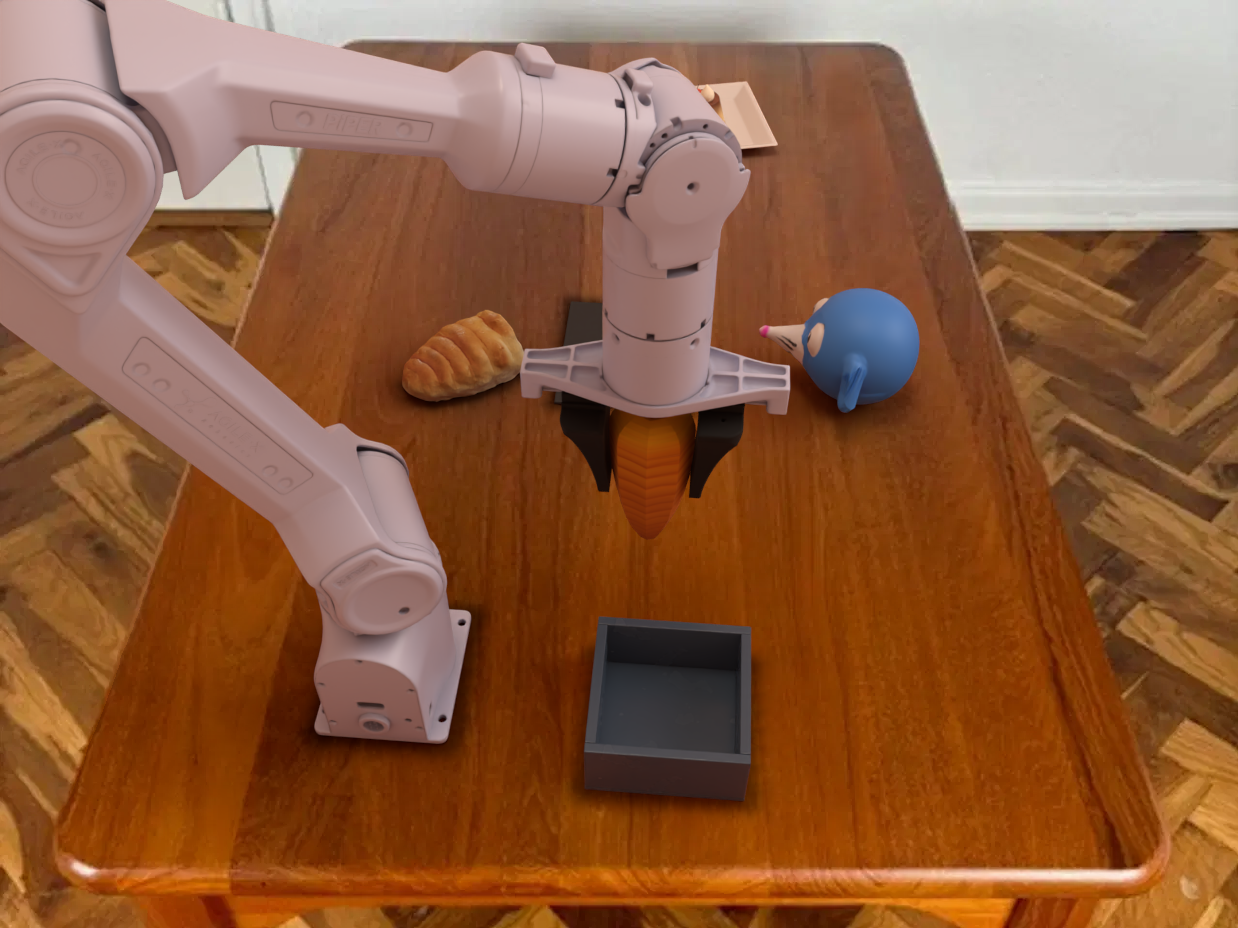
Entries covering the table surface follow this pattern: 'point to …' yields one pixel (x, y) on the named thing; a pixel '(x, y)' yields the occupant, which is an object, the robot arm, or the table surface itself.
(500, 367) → the pastry
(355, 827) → the table surface
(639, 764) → the bin
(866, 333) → the blue mole toy
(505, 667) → the table surface
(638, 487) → the carrot
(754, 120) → the dessert
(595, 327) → the mat
